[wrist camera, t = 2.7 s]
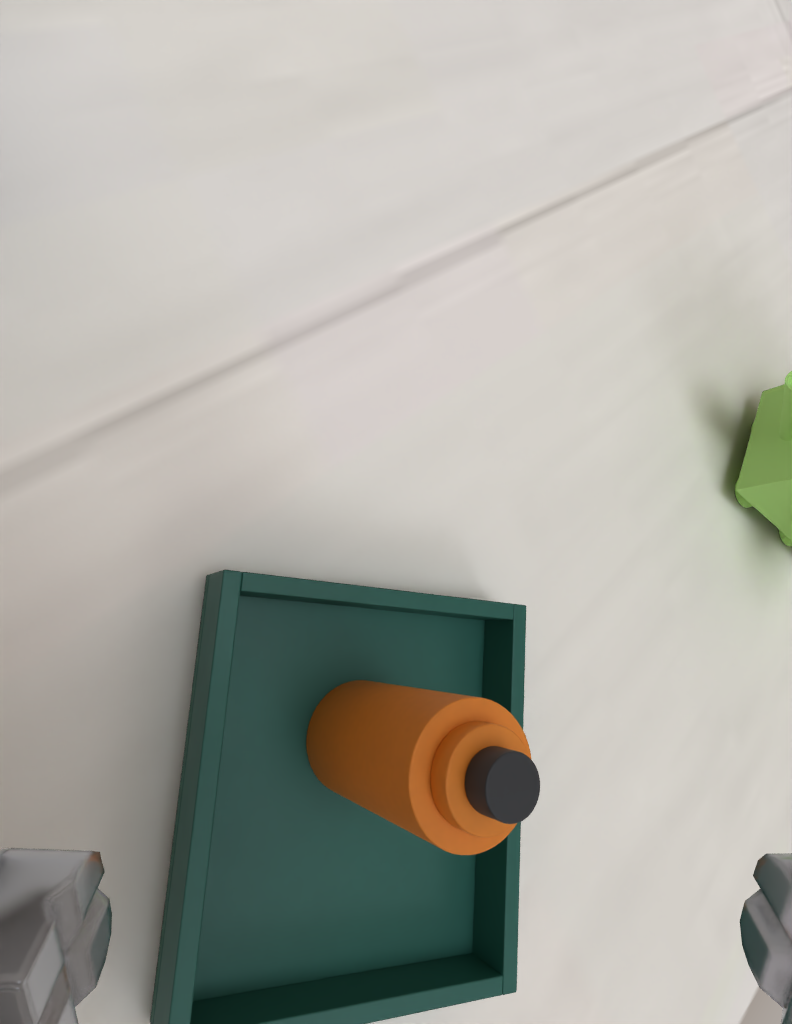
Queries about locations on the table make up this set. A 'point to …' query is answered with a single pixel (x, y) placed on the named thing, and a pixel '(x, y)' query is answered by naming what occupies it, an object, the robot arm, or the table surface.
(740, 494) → the kettle
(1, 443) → the table surface
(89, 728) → the table surface
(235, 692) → the tray
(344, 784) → the glue bottle
